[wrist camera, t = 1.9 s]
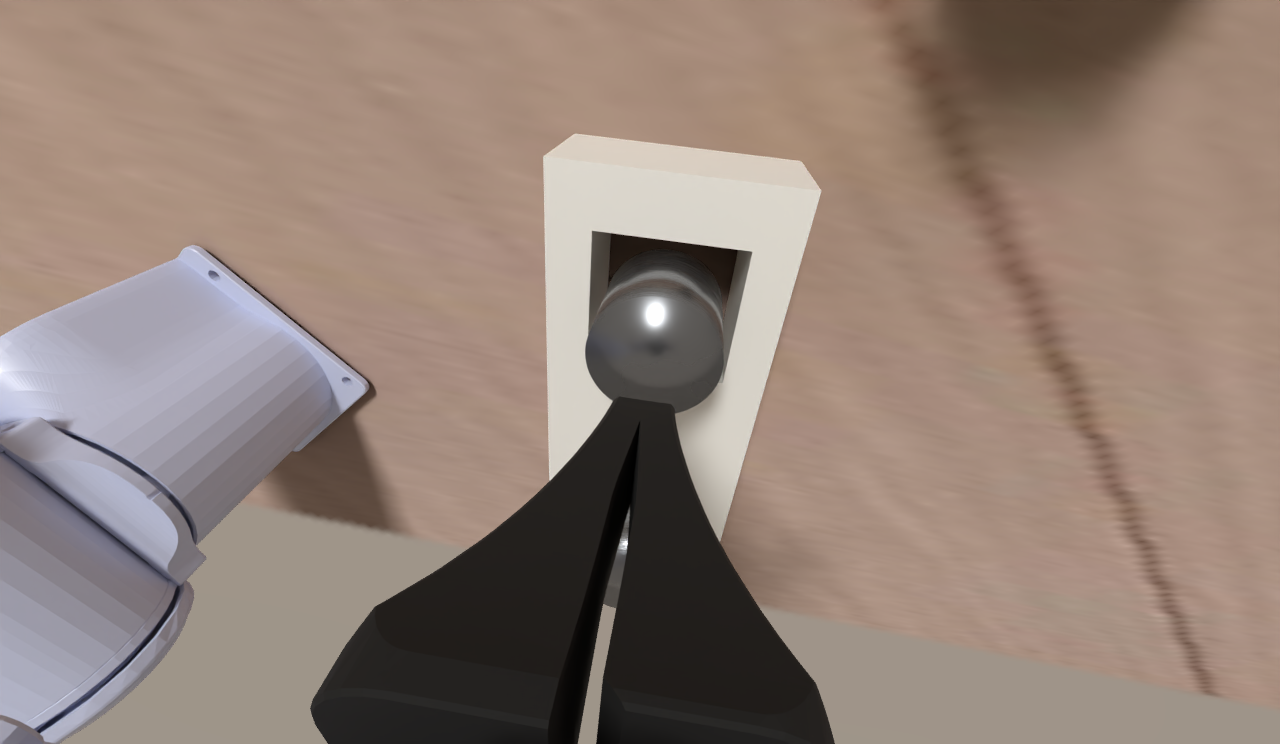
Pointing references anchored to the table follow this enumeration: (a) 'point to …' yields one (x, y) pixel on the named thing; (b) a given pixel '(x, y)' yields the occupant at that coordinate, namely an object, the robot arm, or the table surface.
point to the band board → (682, 212)
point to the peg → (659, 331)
